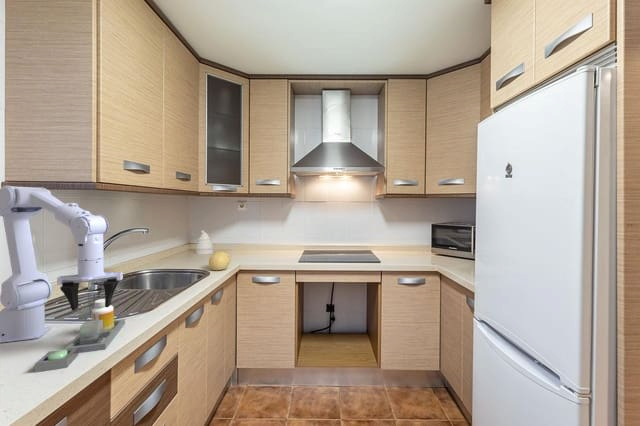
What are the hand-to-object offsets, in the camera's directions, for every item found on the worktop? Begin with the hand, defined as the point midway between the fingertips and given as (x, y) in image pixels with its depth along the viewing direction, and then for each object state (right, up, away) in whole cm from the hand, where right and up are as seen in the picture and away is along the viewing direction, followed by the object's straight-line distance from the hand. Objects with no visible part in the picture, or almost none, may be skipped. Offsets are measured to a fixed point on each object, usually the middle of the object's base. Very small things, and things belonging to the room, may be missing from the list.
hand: (91, 307), depth 82 cm
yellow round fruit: (+3, -8, +95) cm, 96 cm away
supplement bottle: (-3, -10, +8) cm, 13 cm away
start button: (-1, -10, -10) cm, 14 cm away
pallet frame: (-1, -10, +4) cm, 11 cm away
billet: (0, -10, 0) cm, 10 cm away
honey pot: (-30, -6, +157) cm, 160 cm away
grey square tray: (-1, -11, -10) cm, 14 cm away
